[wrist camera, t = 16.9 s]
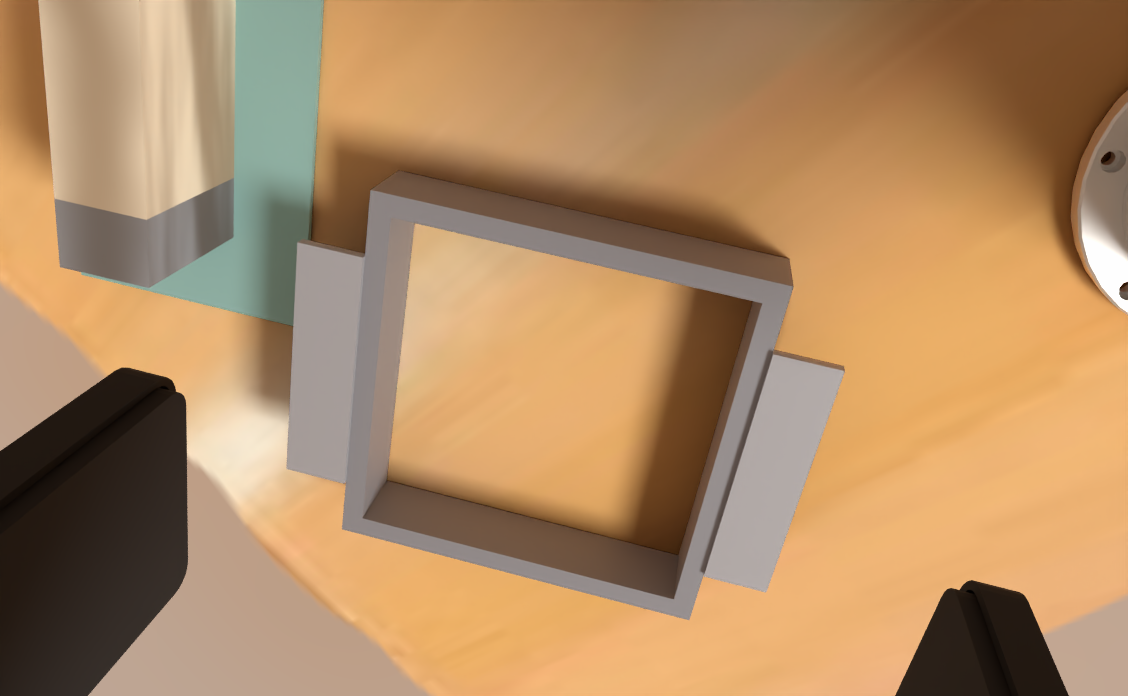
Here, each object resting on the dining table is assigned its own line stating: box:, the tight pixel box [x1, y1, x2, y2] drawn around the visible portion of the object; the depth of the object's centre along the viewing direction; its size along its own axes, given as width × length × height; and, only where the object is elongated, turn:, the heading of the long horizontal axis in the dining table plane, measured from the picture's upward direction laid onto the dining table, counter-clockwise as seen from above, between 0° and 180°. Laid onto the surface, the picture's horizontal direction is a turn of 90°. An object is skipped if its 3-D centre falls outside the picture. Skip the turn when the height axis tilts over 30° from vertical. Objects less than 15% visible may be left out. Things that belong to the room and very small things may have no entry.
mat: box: [81, 0, 324, 326], centre depth 41 cm, size 12×20×1 cm, turn 169°
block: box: [38, 0, 236, 288], centre depth 38 cm, size 4×12×7 cm, turn 170°
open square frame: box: [287, 170, 845, 620], centre depth 43 cm, size 24×18×4 cm
